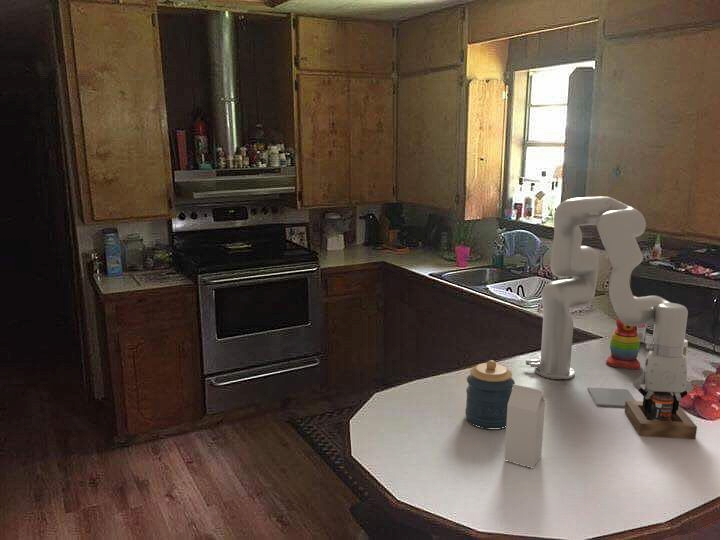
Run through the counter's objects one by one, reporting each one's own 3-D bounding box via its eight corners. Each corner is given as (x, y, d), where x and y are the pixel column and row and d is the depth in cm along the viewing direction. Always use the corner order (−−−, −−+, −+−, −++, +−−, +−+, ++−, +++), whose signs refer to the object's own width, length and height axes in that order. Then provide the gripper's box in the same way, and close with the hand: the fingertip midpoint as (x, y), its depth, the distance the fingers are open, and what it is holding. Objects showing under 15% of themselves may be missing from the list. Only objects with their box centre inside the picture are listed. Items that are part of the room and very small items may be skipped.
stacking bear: (605, 366, 209) (610, 316, 205) (606, 356, 218) (611, 308, 214) (640, 370, 205) (645, 320, 201) (639, 360, 214) (644, 311, 210)
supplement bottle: (660, 431, 164) (665, 392, 161) (641, 422, 169) (645, 384, 166) (675, 426, 167) (679, 388, 164) (655, 417, 172) (660, 380, 169)
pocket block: (639, 435, 162) (640, 423, 161) (624, 411, 175) (625, 400, 175) (695, 439, 160) (697, 426, 159) (676, 414, 174) (677, 403, 173)
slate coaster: (596, 405, 179) (596, 404, 179) (587, 389, 191) (587, 387, 191) (639, 408, 178) (639, 406, 177) (627, 391, 189) (627, 389, 189)
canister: (469, 406, 179) (471, 349, 175) (514, 413, 175) (518, 355, 171) (461, 426, 167) (463, 366, 163) (509, 434, 163) (513, 372, 159)
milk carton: (532, 469, 146) (538, 396, 142) (504, 461, 150) (508, 389, 145) (541, 456, 152) (546, 385, 148) (513, 448, 155) (517, 379, 151)
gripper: (637, 352, 160) (630, 415, 164) (707, 356, 158) (698, 419, 162) (629, 343, 168) (622, 403, 172) (696, 345, 165) (688, 407, 169)
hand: (659, 410), depth 167 cm, fingers closed on supplement bottle, 6 cm apart
